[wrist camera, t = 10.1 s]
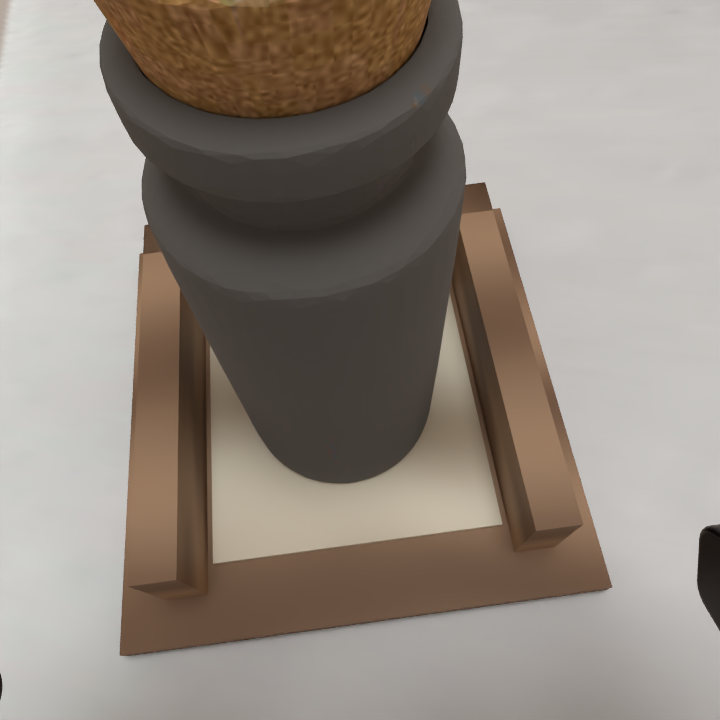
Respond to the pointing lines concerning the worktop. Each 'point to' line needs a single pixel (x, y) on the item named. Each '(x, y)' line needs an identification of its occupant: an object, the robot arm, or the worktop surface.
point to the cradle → (356, 499)
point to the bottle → (303, 204)
